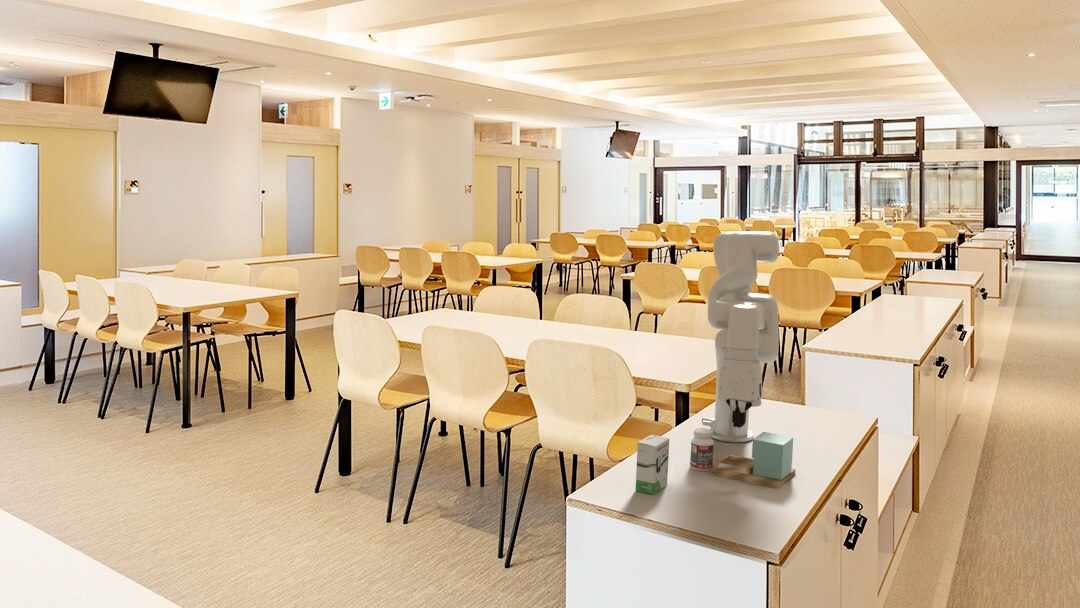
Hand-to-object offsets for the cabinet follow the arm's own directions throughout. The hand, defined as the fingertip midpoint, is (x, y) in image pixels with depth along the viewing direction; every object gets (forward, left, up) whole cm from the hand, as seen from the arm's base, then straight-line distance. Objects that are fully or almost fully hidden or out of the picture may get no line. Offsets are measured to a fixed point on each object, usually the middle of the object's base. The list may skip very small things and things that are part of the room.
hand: (738, 426), depth 209 cm
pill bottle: (-8, -3, -12) cm, 15 cm away
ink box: (-12, -23, -12) cm, 29 cm away
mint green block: (+9, +1, -10) cm, 14 cm away
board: (+4, +1, -12) cm, 13 cm away
